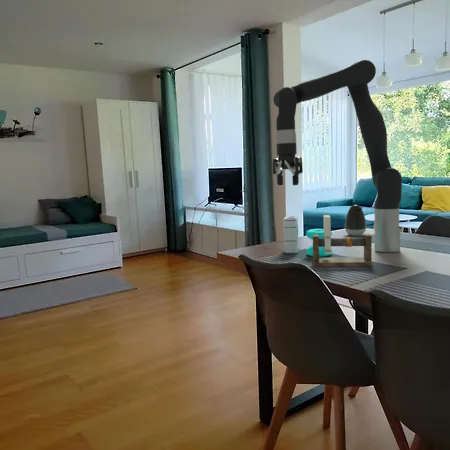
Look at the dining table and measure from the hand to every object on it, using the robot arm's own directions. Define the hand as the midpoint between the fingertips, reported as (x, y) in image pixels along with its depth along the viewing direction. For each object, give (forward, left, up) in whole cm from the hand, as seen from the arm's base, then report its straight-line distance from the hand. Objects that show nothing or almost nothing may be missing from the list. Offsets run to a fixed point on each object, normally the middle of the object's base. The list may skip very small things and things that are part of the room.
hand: (287, 185), depth 167 cm
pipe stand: (-19, +12, -28) cm, 36 cm away
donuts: (-12, -4, -29) cm, 31 cm away
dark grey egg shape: (-32, -49, -29) cm, 65 cm away
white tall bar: (-14, +12, -24) cm, 30 cm away
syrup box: (-1, -11, -29) cm, 31 cm away
